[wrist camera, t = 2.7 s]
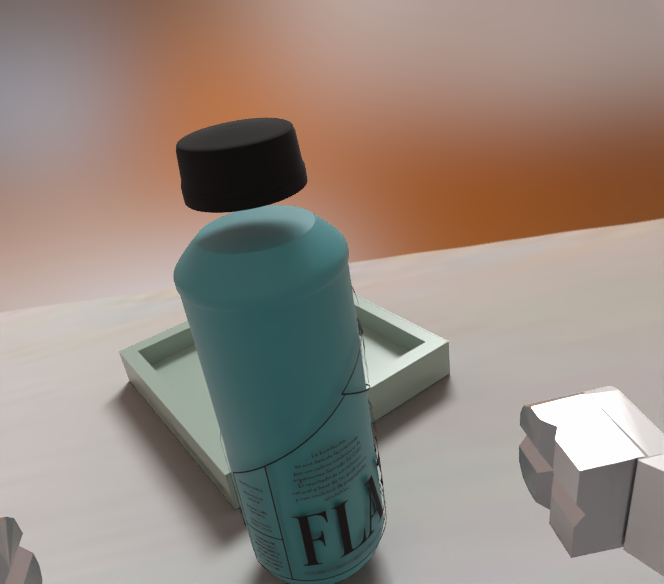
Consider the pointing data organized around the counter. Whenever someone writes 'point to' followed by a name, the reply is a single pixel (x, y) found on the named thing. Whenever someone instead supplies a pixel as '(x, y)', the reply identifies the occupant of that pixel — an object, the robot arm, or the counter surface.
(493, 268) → the counter surface
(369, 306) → the tray
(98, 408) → the counter surface
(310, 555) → the beverage bottle
